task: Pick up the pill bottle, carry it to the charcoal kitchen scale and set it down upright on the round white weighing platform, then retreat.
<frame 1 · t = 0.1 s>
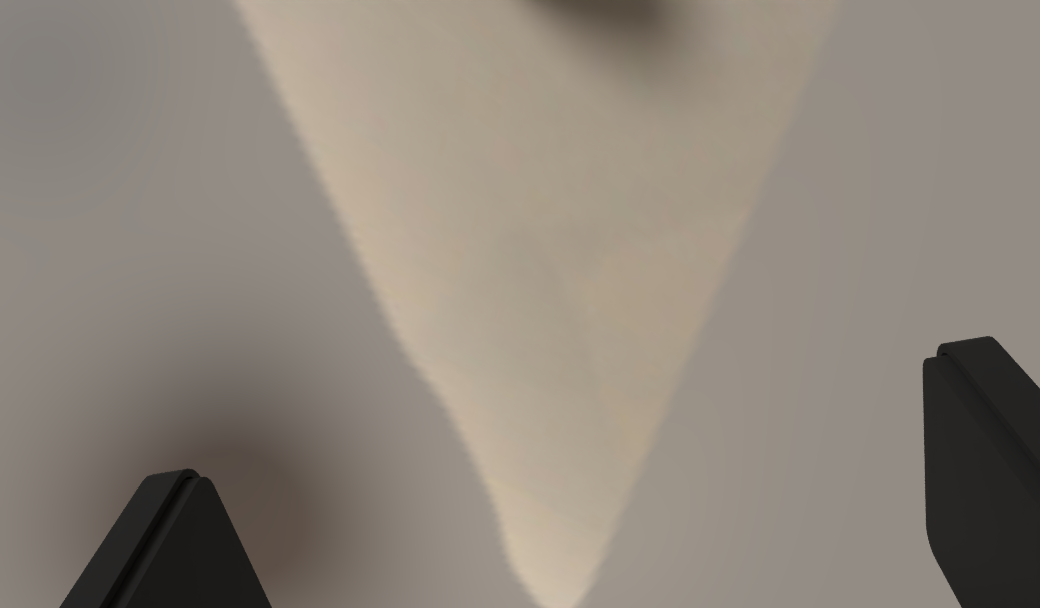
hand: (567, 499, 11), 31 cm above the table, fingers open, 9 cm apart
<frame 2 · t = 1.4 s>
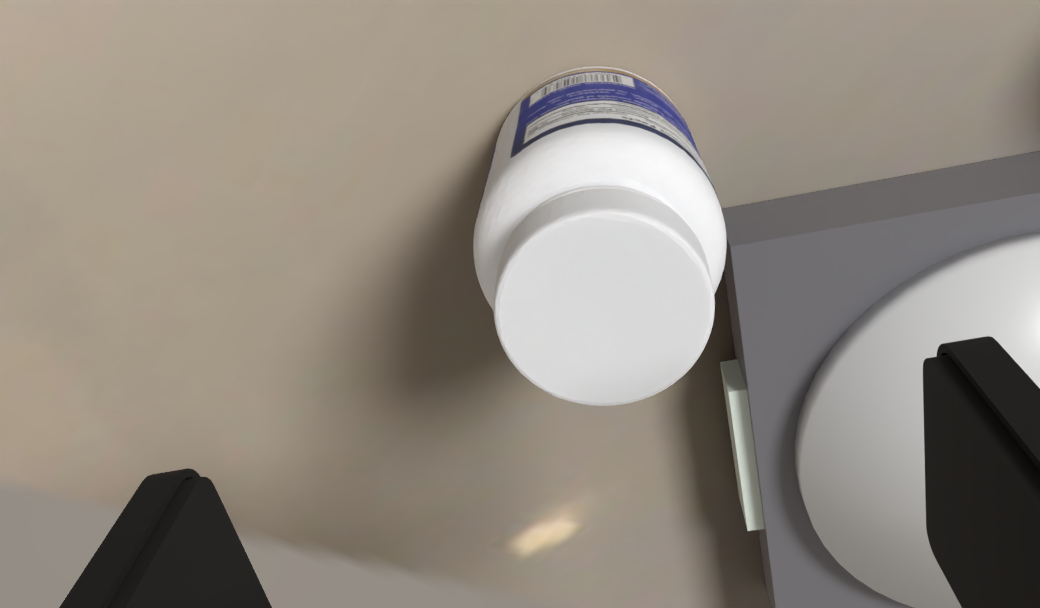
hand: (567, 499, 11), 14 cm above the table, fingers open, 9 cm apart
pill bottle: (593, 158, 24), on the table
scale: (984, 384, 26), on the table
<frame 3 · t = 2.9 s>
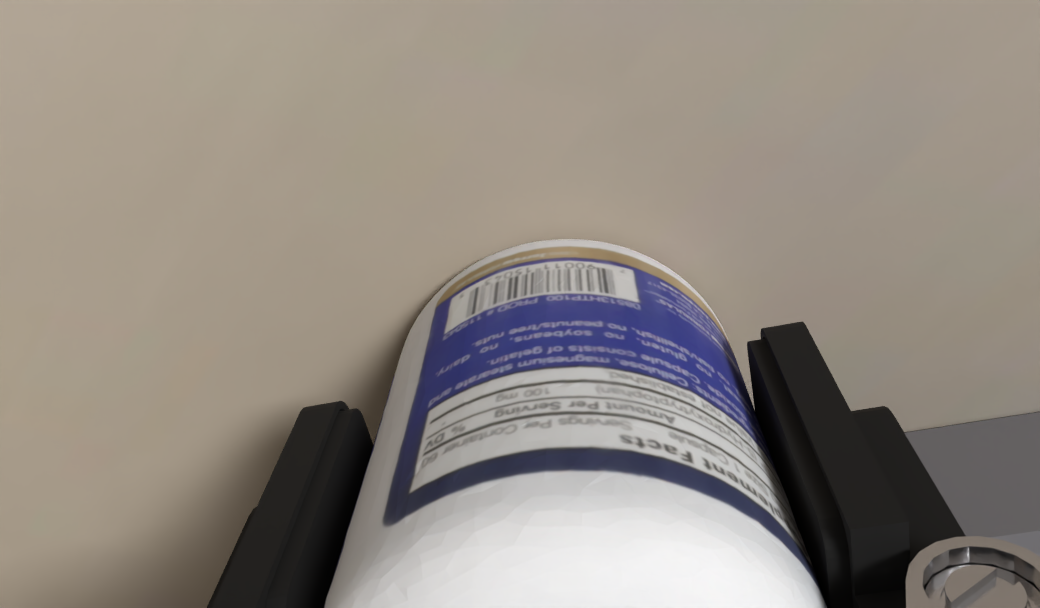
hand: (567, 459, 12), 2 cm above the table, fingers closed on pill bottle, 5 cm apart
pill bottle: (566, 375, 14), on the table, touching gripper
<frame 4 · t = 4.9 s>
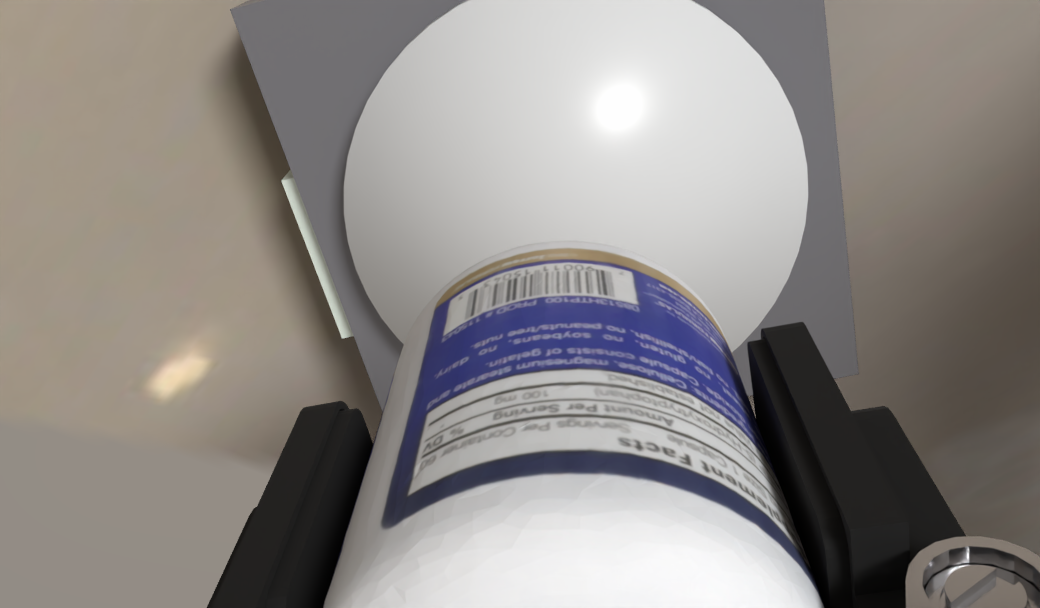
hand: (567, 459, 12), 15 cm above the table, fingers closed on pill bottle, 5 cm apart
pill bottle: (565, 376, 14), point 13 cm above the table, touching gripper
scale: (569, 178, 26), on the table
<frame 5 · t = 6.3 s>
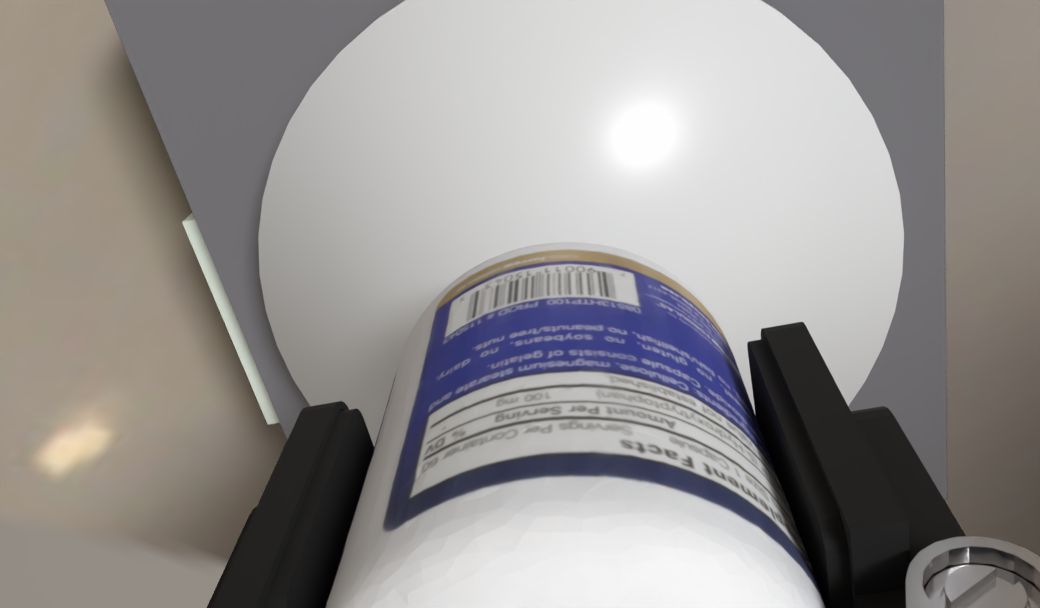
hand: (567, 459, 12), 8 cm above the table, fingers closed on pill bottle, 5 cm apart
pill bottle: (567, 378, 14), point 6 cm above the table, touching gripper
scale: (573, 226, 20), on the table
when the fingers open (6 cm above the table, at t = 7.1 s): pill bottle drops 1 cm, resting on scale.
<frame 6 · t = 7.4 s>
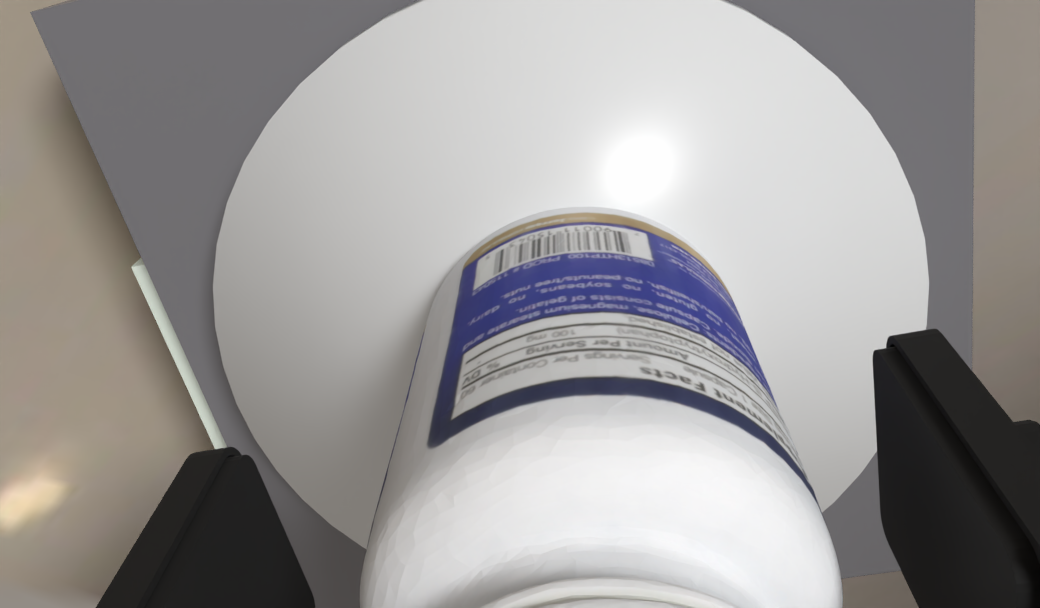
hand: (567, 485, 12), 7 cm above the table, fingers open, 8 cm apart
pill bottle: (582, 337, 15), point 3 cm above the table, touching scale
scale: (563, 265, 18), on the table
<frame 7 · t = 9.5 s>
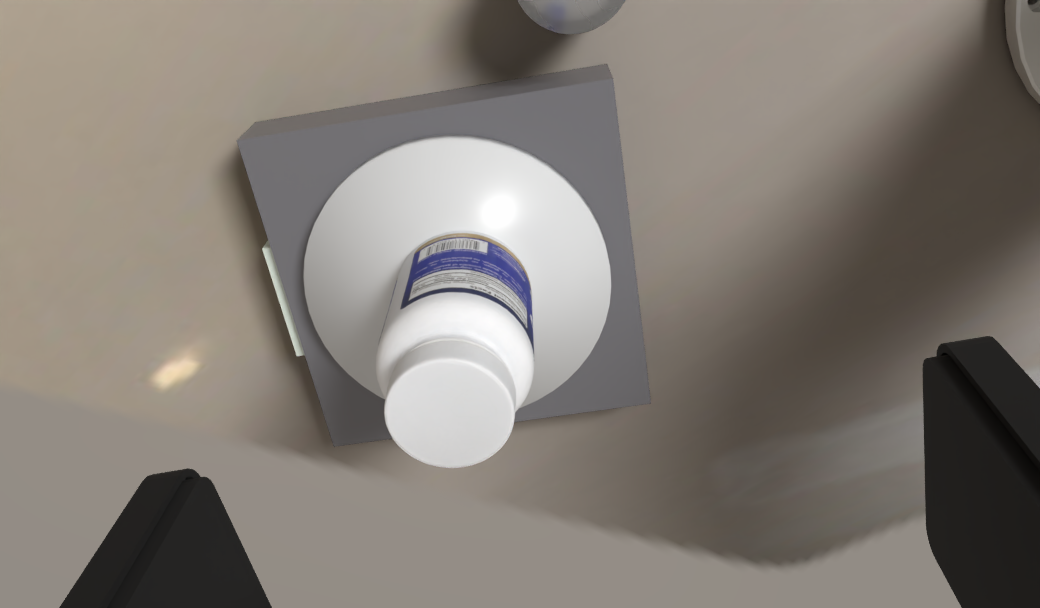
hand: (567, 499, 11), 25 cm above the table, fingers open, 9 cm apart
pill bottle: (465, 286, 35), point 3 cm above the table, touching scale
scale: (462, 256, 37), on the table
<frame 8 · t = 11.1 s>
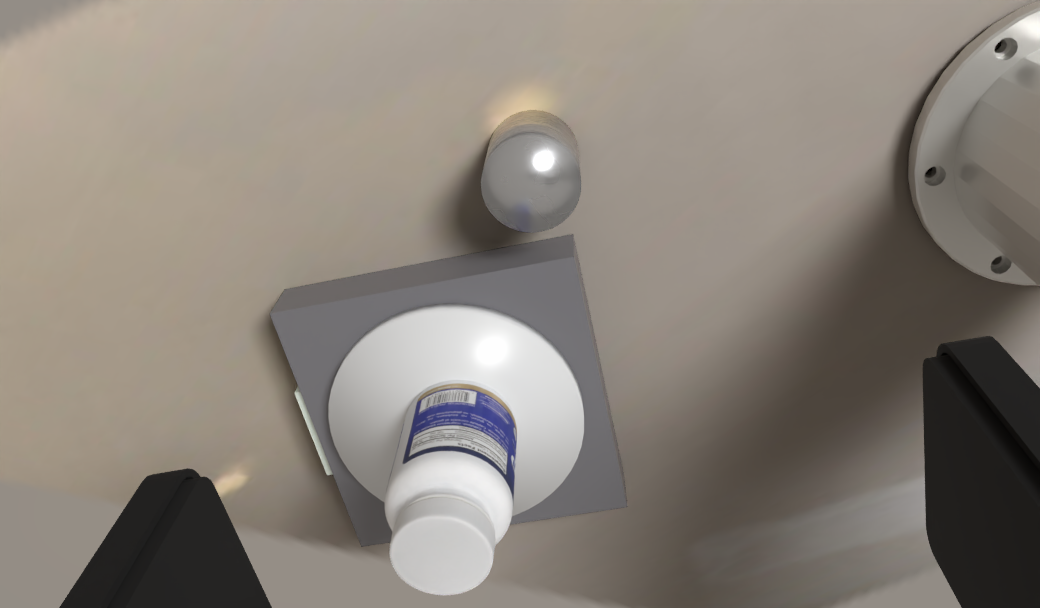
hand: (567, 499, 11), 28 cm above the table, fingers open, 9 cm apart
pill bottle: (462, 421, 41), point 3 cm above the table, touching scale
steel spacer: (533, 155, 39), on the table
scale: (462, 387, 44), on the table
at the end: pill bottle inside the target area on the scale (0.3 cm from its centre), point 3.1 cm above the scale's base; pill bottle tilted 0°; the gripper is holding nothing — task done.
